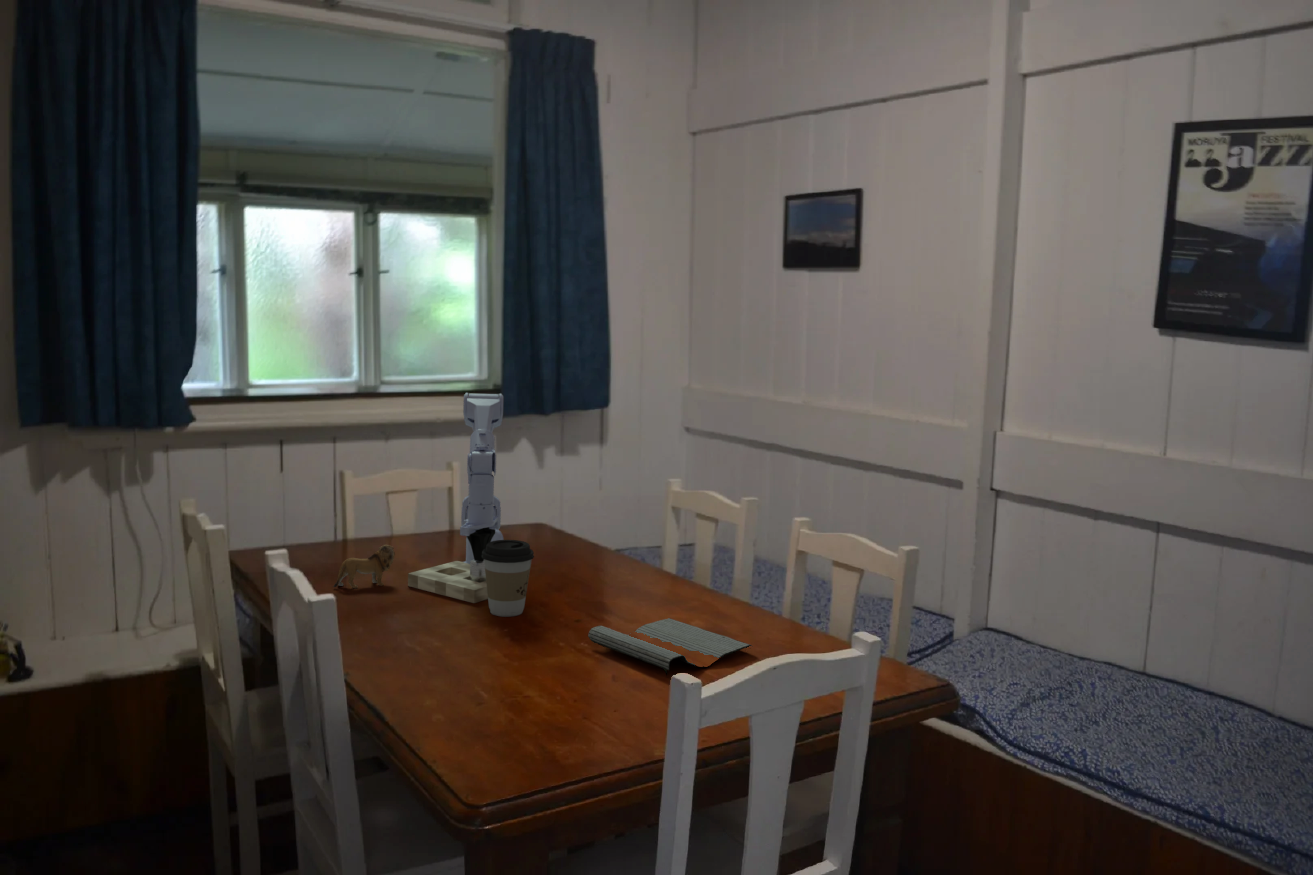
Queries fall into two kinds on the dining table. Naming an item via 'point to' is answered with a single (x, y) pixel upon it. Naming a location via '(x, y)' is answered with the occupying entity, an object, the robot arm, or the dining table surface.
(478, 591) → the jig plate
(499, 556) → the coffee cup
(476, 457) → the robot arm
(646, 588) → the dining table surface
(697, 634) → the mat
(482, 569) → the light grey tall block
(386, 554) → the lion figurine
